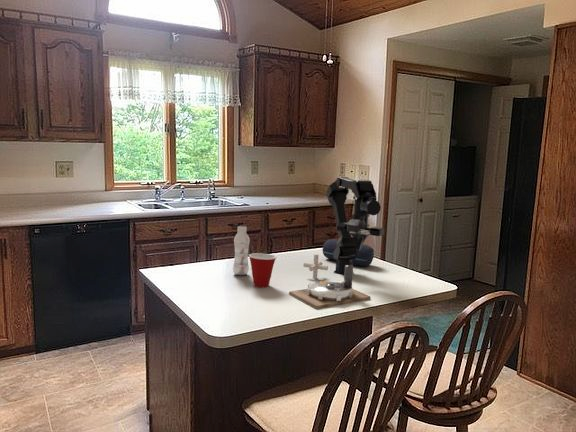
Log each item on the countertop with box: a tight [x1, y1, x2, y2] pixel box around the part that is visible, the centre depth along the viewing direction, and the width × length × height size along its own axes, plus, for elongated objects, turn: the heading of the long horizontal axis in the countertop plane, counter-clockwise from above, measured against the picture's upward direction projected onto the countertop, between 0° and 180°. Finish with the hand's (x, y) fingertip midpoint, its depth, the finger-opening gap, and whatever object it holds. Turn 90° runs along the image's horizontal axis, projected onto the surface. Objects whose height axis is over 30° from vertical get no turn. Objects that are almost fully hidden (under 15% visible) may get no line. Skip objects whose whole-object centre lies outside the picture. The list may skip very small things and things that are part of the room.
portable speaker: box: [322, 238, 375, 268], centre depth 225 cm, size 25×10×10 cm, turn 52°
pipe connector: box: [303, 253, 329, 280], centre depth 197 cm, size 10×10×10 cm
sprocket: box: [306, 264, 354, 301], centre depth 174 cm, size 17×17×10 cm
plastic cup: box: [248, 252, 277, 288], centre depth 184 cm, size 11×11×12 cm
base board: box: [288, 280, 371, 310], centre depth 174 cm, size 24×17×3 cm
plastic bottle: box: [232, 225, 251, 276], centre depth 196 cm, size 6×7×20 cm
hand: (358, 250), depth 194 cm, fingers closed
